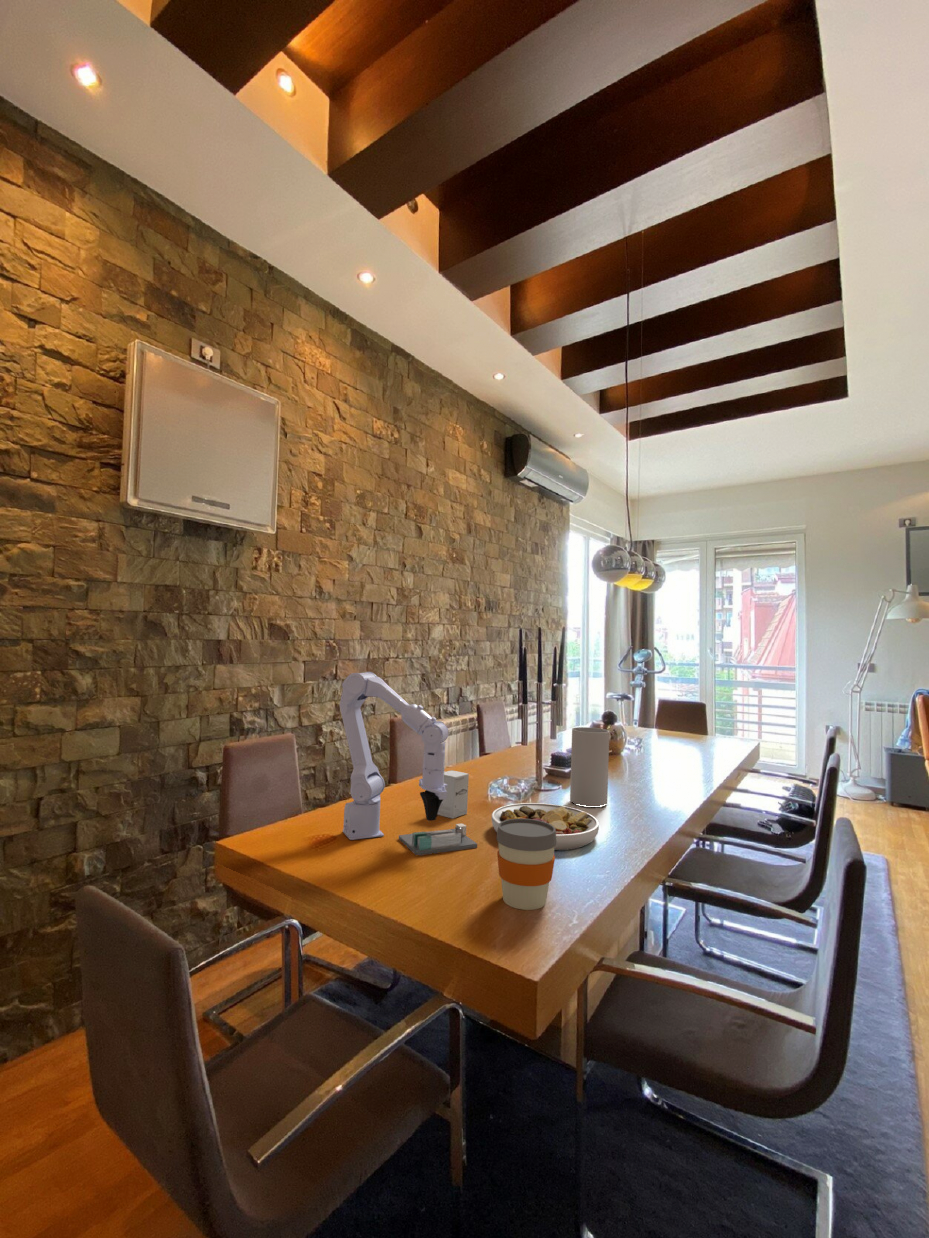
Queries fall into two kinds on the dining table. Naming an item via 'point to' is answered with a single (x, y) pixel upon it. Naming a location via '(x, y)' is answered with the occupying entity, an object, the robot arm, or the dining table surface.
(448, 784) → the supplement box
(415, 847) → the slate board
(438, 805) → the robot arm
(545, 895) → the reusable coffee cup
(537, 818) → the bowl
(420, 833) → the tong arm
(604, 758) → the cylinder vase
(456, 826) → the tab
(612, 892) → the dining table surface
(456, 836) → the tongs fixed
